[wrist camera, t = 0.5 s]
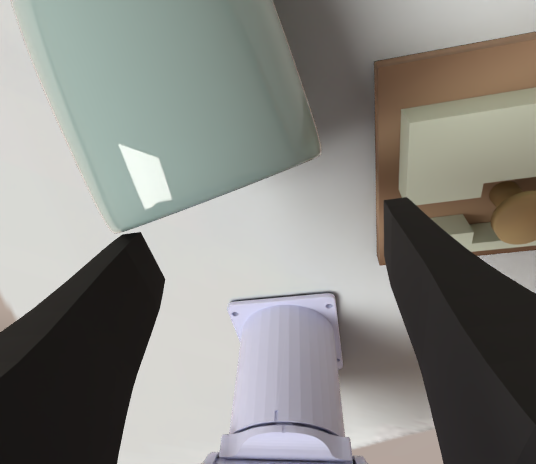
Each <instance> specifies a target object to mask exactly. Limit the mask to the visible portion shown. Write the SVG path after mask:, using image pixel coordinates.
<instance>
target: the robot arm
mask: <svg viewBox="0 0 536 464" xmlns="http://www.w3.org/2000/svg"><path fill="white" fill-rule="evenodd" d="M384 258H385V262H386V267H387V271H388V276H389V280H390V284H391V288H392V291H393V293H394V296H395V299H396V302H397V305H398V307H399V310H400V313H401V316H402V318H403V321H404V324H405V327H406V329H407V332H408V335H409V338H410V340H411V343H412V346H413V349H414V351H415V354H416V357H417V360H418V363H419V366H420V370H421V373H422V377H423V381H424V385H425V389H426V393H427V397H428V401H429V404H430V408H431V413H432V417H433V421H434V425H435V429H436V433H437V437H438V441H439V446H440V450H441V454H442V459H443V463H444V464H536V294H535V293H534V292H532V291H530V290H528V289H527V288H525V287H523V286H522V285H520V284H518V283H517V282H515V281H514V280H512V279H510V278H509V277H507V276H505V275H504V274H502V273H501V272H499V271H498V270H496V269H494V268H493V267H491V266H490V265H489V264H487V263H486V262H484V261H483V260H482V259H480V258H479V257H477V256H476V255H475V254H473V253H472V252H471V251H469V250H468V249H467V248H465V247H464V246H463V245H462V244H460V243H459V242H458V241H457V240H455V239H454V238H453V237H452V236H450V235H449V234H448V233H447V232H446V231H444V230H443V229H442V228H441V227H440V226H439V225H437V224H436V223H435V222H434V221H433V220H432V219H431V218H430V217H428V216H427V215H426V214H425V213H424V212H423V211H422V210H421V209H420V208H419V207H418V206H416V205H415V204H414V203H413V202H412V201H411V200H410V199H409V198H407V197H403V198H396V199H388V200H384ZM164 283H165V278H164V276H163V274H162V272H161V270H160V268H159V266H158V264H157V263H156V261H155V259H154V257H153V255H152V253H151V251H150V249H149V247H148V245H147V243H146V241H145V239H144V238H143V236H142V234H141V232H138V233H131V234H123V235H121V236H120V237H118V238H117V239H116V240H114V241H113V242H112V243H111V244H109V245H108V246H107V247H106V248H105V249H103V250H102V251H101V252H100V253H99V254H98V255H96V256H95V257H94V258H93V259H92V260H91V261H90V262H88V263H87V264H86V265H85V266H84V267H83V268H82V269H80V270H79V271H78V272H77V273H76V274H75V275H73V276H72V277H71V278H70V279H69V280H68V281H66V282H65V283H64V284H63V285H62V286H60V287H59V288H58V289H57V290H55V291H54V292H53V293H52V294H51V295H49V296H48V297H47V298H46V299H44V300H43V301H42V302H41V303H40V304H38V305H37V306H36V307H35V308H33V309H32V310H31V311H29V312H28V313H27V314H25V315H24V316H23V317H21V318H20V319H19V320H17V321H16V322H14V323H13V324H11V325H10V326H9V327H7V328H6V329H4V330H3V331H2V332H0V464H117V460H118V454H119V449H120V444H121V439H122V434H123V429H124V424H125V420H126V415H127V411H128V407H129V402H130V398H131V394H132V390H133V386H134V383H135V380H136V376H137V373H138V370H139V367H140V364H141V362H142V359H143V356H144V353H145V350H146V347H147V344H148V342H149V339H150V336H151V333H152V330H153V327H154V324H155V321H156V318H157V315H158V312H159V309H160V305H161V300H162V295H163V289H164ZM227 311H228V313H229V316H230V318H231V321H232V323H233V326H234V328H235V331H236V333H237V336H238V338H239V340H240V343H241V344H240V352H239V360H238V368H237V376H236V384H235V392H234V400H233V408H232V416H231V424H230V432H229V434H223V435H222V438H221V445H220V452H211V453H210V454H208V456H207V457H206V459H205V460H204V461H203V462H202V463H201V464H368V463H367V462H366V460H365V458H364V457H363V456H352V451H351V442H350V438H349V437H345V432H344V423H343V413H342V404H341V394H340V385H339V376H338V369H341V368H343V359H342V351H341V343H340V334H339V326H338V318H337V309H336V301H335V296H334V295H333V294H331V293H324V294H313V295H302V296H291V297H280V298H269V299H258V300H247V301H236V302H230V303H229V304H228V306H227Z"/></svg>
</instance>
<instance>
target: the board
mask: <svg viewBox="0 0 536 464" xmlns="http://www.w3.org/2000/svg"><path fill="white" fill-rule="evenodd" d="M374 82H375V156H376V229H377V257H378V261H379V265H386V262H385V258H384V200H388V199H396V198H402V196H401V194H400V192H399V160H400V128H401V109H406V108H412V107H418V106H424V105H430V104H436V103H443V102H449V101H455V100H461V99H467V98H473V97H479V96H485V95H491V94H498V93H504V92H510V91H516V90H522V89H528V88H534V87H536V32H532V33H526V34H521V35H515V36H510V37H505V38H499V39H494V40H488V41H483V42H478V43H472V44H467V45H461V46H456V47H451V48H445V49H440V50H434V51H429V52H424V53H418V54H413V55H407V56H402V57H397V58H391V59H386V60H380V61H375V62H374ZM416 206H418V207H419V208H420V209H421V210H422V211H423V212H424V213H425V214H426V215H427V216H428V217H430V218H434V217H443V216H451V215H460V214H463V215H464V217H465V218H466V220H467V222H468V223H469V224H477V223H486V222H490V223H491V227H492V229H493V231H494V232H495V234H496V235H497V237H498V238H499V239H500V240H501V241H503V242H505V243H508V244H514V245H519V244H526V243H530V242H534V241H536V177H529V178H522V179H514V180H506V181H498V182H491V183H484V184H483V189H482V194H481V197H480V198H472V199H464V200H456V201H448V202H439V203H431V204H423V205H416ZM529 250H536V245H534V246H524V247H514V248H504V249H494V250H485V251H475V252H472V253H473V254H475V255H476V256H480V255H489V254H499V253H509V252H519V251H529Z"/></svg>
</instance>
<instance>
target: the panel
mask: <svg viewBox="0 0 536 464" xmlns="http://www.w3.org/2000/svg"><path fill="white" fill-rule="evenodd" d="M529 177H536V87H534V88H528V89H522V90H516V91H510V92H504V93H498V94H491V95H485V96H479V97H473V98H467V99H461V100H455V101H449V102H443V103H436V104H430V105H424V106H418V107H412V108H406V109H401V128H400V160H399V192H400V194H401V196H402V198H403V197H407V198H409V199H410V200H411V201H412V202H413V203H414V204H415V205H423V204H431V203H439V202H448V201H456V200H464V199H472V198H480V197H481V194H482V189H483V184H484V183H491V182H498V181H506V180H514V179H522V178H529ZM431 219H432V220H433V221H434V222H435V223H436V224H437V225H439V226H440V227H441V228H442V229H443V230H444V231H446V232H447V233H448V234H449V235H450V236H452V237H453V238H454V239H455V240H457V241H458V242H459V243H460V244H462V245H463V246H464V247H465V248H467V249H468V250H469V251H471V252H475V251H485V250H494V249H504V248H514V247H524V246H534V245H536V241H534V242H530V243H526V244H519V245H514V244H508V243H505V242H503V241H501V240H500V239H499V238H498V237H497V235H496V234H495V232H494V231H493V229H492V227H491V223H490V222H486V223H477V224H469V223H468V222H467V220H466V218H465V217H464V215H463V214H460V215H451V216H443V217H434V218H431Z"/></svg>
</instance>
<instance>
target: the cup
mask: <svg viewBox="0 0 536 464" xmlns="http://www.w3.org/2000/svg"><path fill="white" fill-rule="evenodd" d="M10 1H11V4H12V8H13V11H14V14H15V17H16V20H17V23H18V26H19V29H20V31H21V34H22V37H23V40H24V42H25V45H26V48H27V51H28V54H29V56H30V59H31V61H32V64H33V66H34V69H35V71H36V74H37V76H38V79H39V81H40V84H41V86H42V88H43V91H44V93H45V95H46V98H47V100H48V102H49V105H50V107H51V109H52V112H53V114H54V116H55V118H56V121H57V123H58V125H59V127H60V130H61V132H62V134H63V136H64V138H65V141H66V143H67V145H68V147H69V149H70V152H71V154H72V156H73V158H74V160H75V163H76V165H77V167H78V169H79V171H80V173H81V176H82V178H83V180H84V182H85V184H86V186H87V188H88V191H89V193H90V195H91V197H92V199H93V201H94V203H95V205H96V207H97V209H98V211H99V213H100V215H101V217H102V218H103V220H104V222H105V224H106V225H107V227H108V228H109V229H110V231H111V232H113V233H115V234H117V233H121V232H124V231H127V230H130V229H133V228H136V227H139V226H141V225H144V224H147V223H150V222H152V221H155V220H158V219H161V218H163V217H166V216H169V215H171V214H174V213H177V212H179V211H182V210H185V209H187V208H190V207H193V206H195V205H198V204H201V203H203V202H206V201H209V200H211V199H214V198H216V197H219V196H222V195H224V194H227V193H229V192H232V191H235V190H237V189H240V188H242V187H245V186H247V185H250V184H253V183H255V182H258V181H260V180H263V179H265V178H268V177H270V176H273V175H275V174H278V173H280V172H283V171H285V170H288V169H290V168H293V167H295V166H298V165H300V164H303V163H305V162H307V161H310V160H312V159H314V158H316V157H319V156H320V155H321V152H322V149H321V142H320V138H319V134H318V130H317V127H316V124H315V120H314V117H313V114H312V111H311V108H310V105H309V102H308V99H307V96H306V93H305V90H304V87H303V84H302V81H301V78H300V75H299V72H298V69H297V66H296V63H295V60H294V57H293V55H292V52H291V49H290V46H289V43H288V40H287V37H286V35H285V32H284V29H283V26H282V23H281V21H280V18H279V15H278V12H277V10H276V7H275V4H274V2H273V0H10Z"/></svg>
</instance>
